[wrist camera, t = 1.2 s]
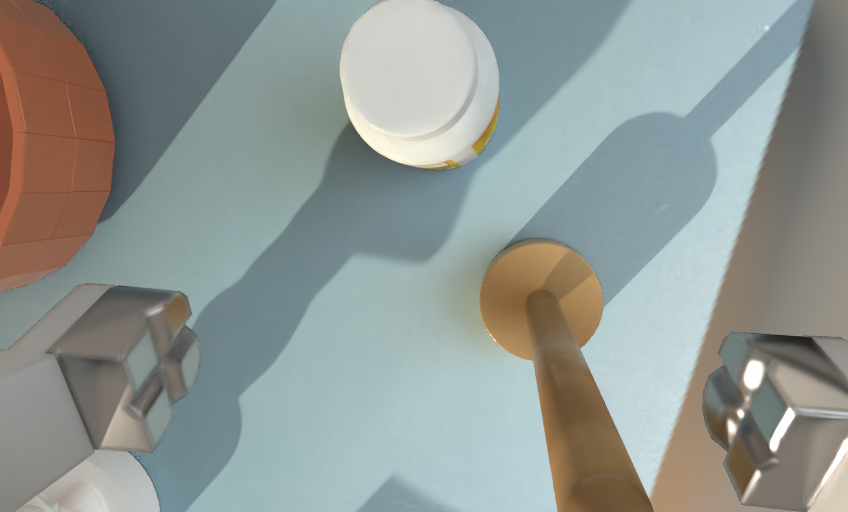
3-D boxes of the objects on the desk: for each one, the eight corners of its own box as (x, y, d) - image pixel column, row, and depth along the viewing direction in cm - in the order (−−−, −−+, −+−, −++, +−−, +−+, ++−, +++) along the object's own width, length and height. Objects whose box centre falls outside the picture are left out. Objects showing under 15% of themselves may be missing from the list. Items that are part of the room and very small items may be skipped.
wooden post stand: (516, 217, 26) (545, 296, 8) (617, 273, 25) (903, 497, 7) (461, 313, 27) (369, 588, 8) (558, 368, 26) (678, 778, 8)
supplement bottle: (420, 192, 26) (373, 196, 17) (362, 92, 26) (280, 38, 16) (523, 130, 25) (533, 97, 16) (462, 25, 25) (437, -72, 15)
